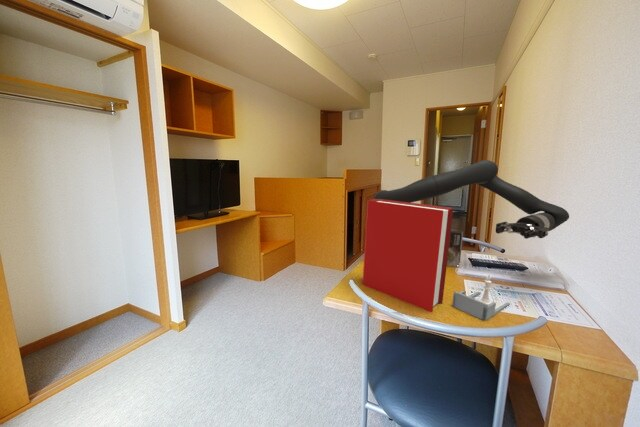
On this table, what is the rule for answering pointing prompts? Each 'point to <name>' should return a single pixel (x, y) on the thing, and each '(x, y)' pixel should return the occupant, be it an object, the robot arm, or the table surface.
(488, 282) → the chess piece
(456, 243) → the coffee box
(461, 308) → the chute
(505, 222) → the robot arm
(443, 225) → the book
